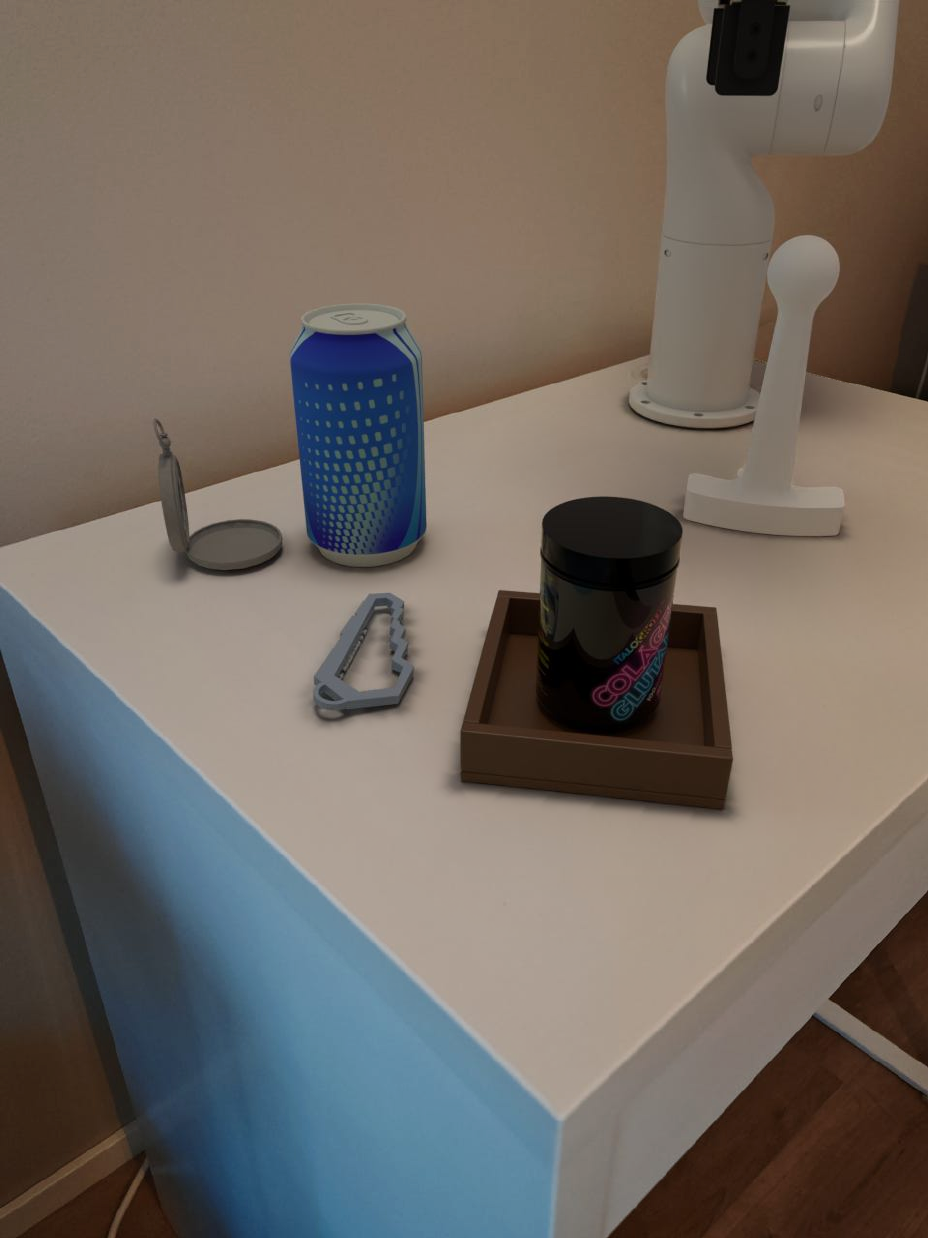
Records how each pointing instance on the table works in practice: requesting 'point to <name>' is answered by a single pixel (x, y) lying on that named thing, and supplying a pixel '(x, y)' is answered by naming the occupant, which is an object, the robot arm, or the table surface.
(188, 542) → the pocket watch
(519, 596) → the tray
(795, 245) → the joystick
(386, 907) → the table surface
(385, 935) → the table surface
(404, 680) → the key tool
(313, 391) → the beer can
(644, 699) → the supplement container
